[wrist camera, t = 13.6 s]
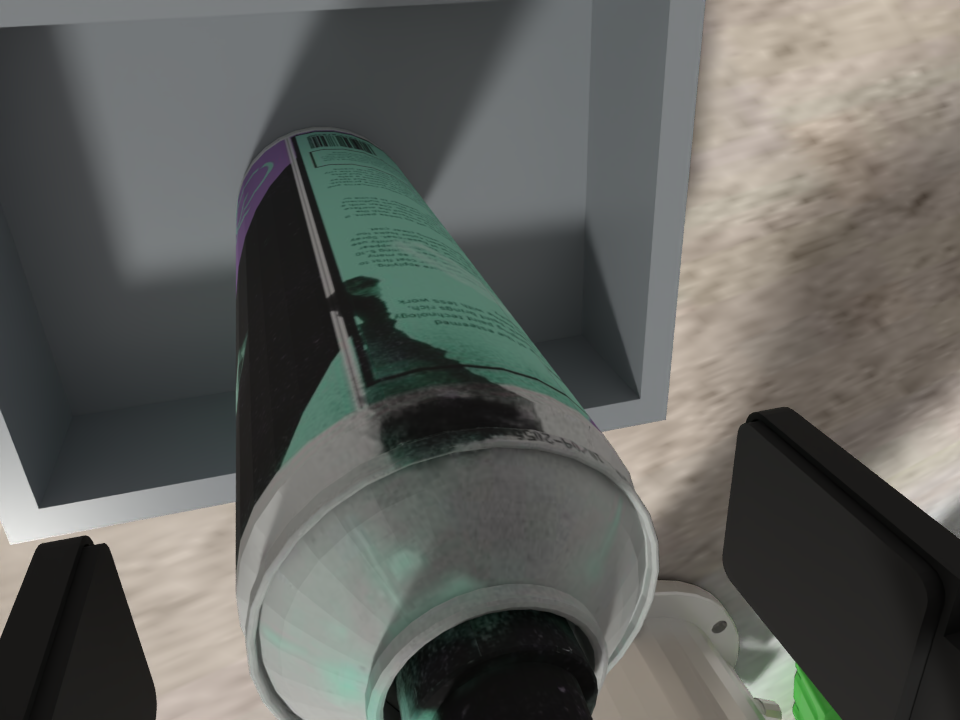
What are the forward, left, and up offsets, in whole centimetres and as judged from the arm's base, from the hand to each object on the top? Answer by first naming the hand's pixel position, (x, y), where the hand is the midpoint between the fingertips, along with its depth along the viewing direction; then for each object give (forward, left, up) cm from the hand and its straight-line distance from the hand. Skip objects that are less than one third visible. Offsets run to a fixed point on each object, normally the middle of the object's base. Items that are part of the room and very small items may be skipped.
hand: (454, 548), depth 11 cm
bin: (+1, 0, -17) cm, 17 cm away
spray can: (+1, 0, -16) cm, 16 cm away
